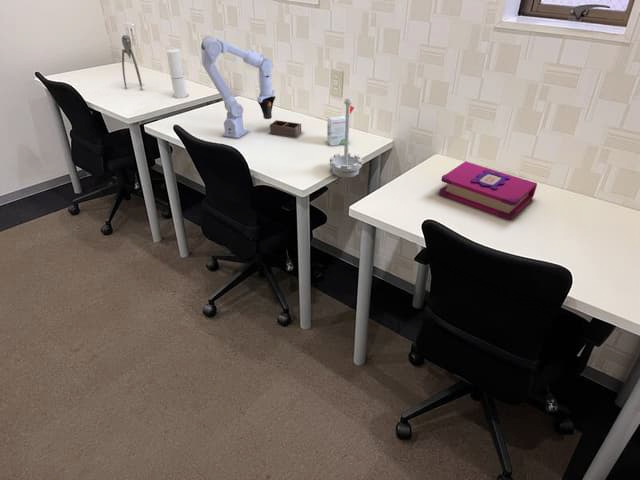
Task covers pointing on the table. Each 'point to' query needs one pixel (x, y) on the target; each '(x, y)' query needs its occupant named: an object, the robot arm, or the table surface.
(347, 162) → the flag stand
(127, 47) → the juicer
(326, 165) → the table surface
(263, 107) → the robot arm
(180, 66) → the cylindrical container
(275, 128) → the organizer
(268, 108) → the grey and orange cylinder
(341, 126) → the ink box
